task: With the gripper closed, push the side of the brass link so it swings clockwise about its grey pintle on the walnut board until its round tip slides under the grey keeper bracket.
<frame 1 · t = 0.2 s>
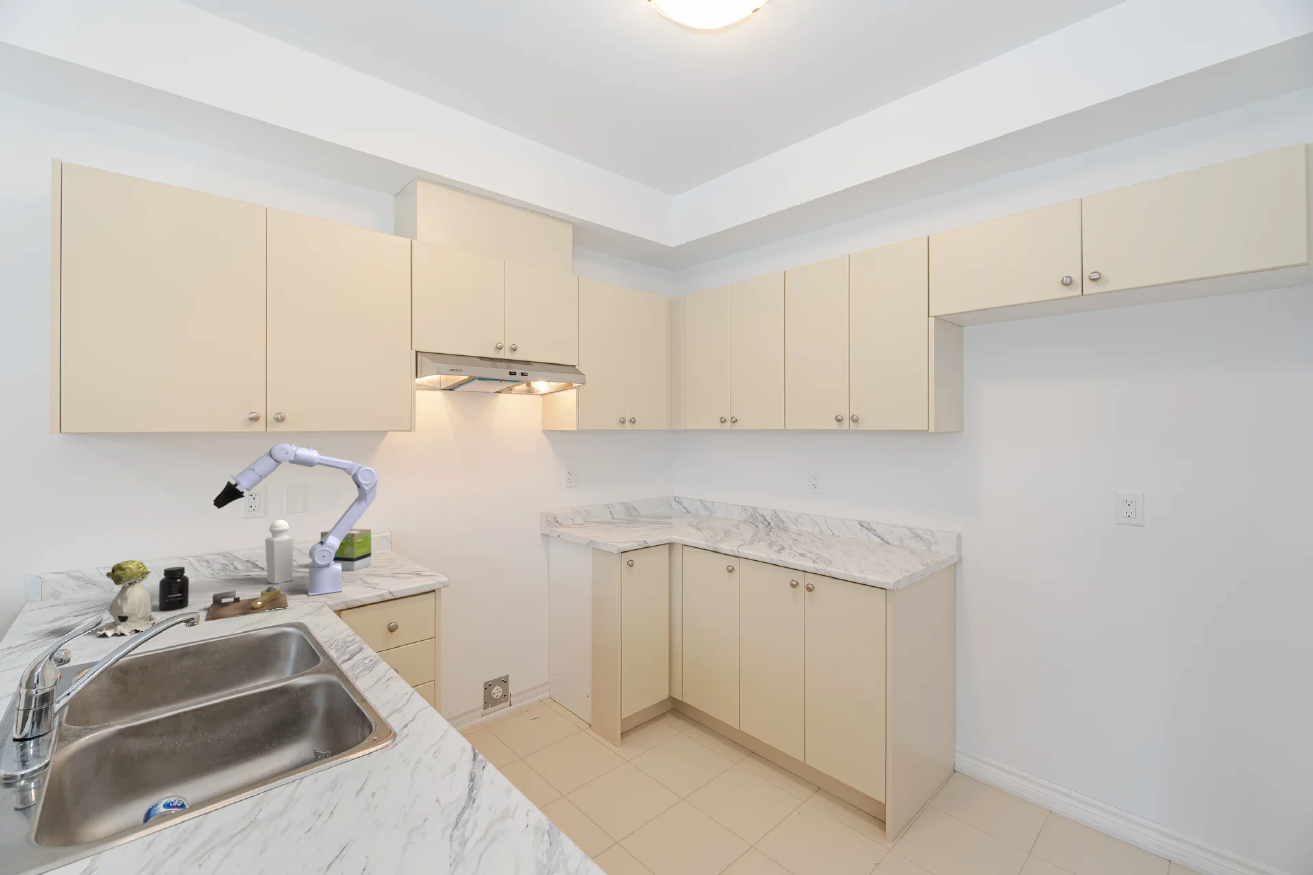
hand: (215, 505, 170), 31 cm above the counter, tool tilted 45°, fingers open, 7 cm apart
supplement bottle: (174, 608, 170), on the counter
tea box: (346, 568, 221), on the counter
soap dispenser: (279, 581, 201), on the counter
hinge board: (249, 607, 170), on the counter
link: (264, 598, 172), point 2 cm above the counter, hinge at 70.0°
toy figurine: (127, 629, 152), on the counter
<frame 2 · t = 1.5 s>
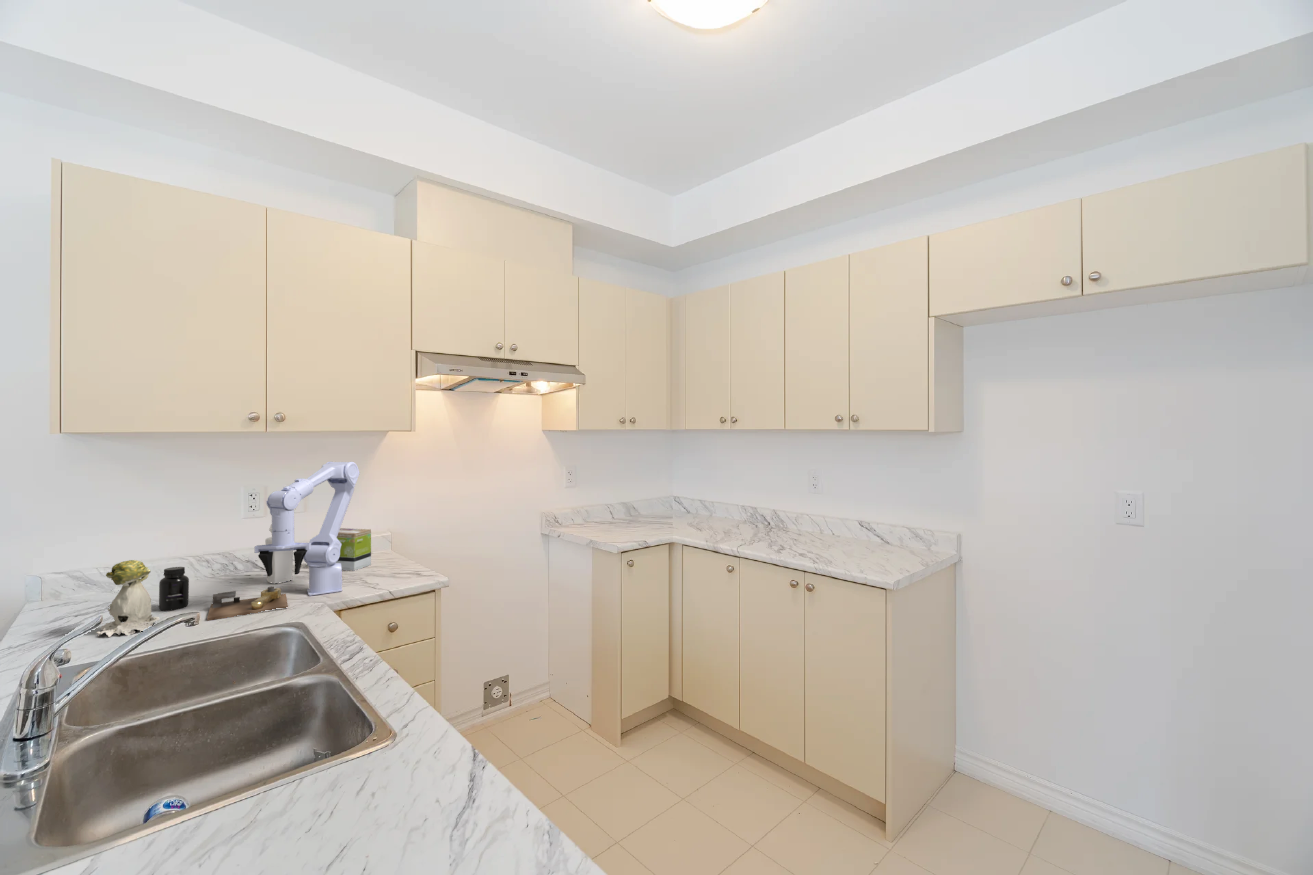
hand: (283, 574, 172), 9 cm above the counter, tool pointing down, fingers open, 7 cm apart
nothing on the counter moved.
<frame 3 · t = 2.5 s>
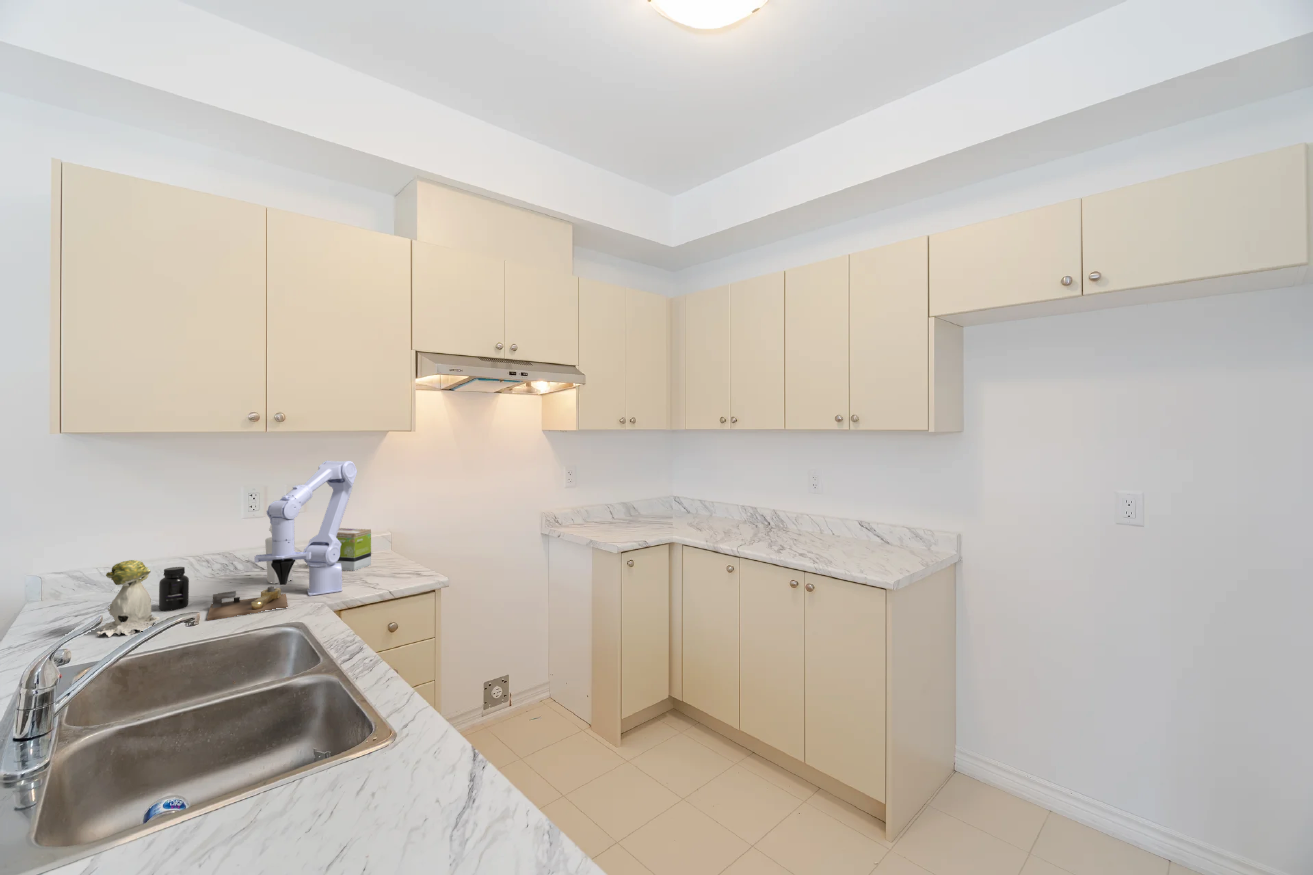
hand: (283, 584, 172), 6 cm above the counter, tool pointing down, fingers closed
nothing on the counter moved.
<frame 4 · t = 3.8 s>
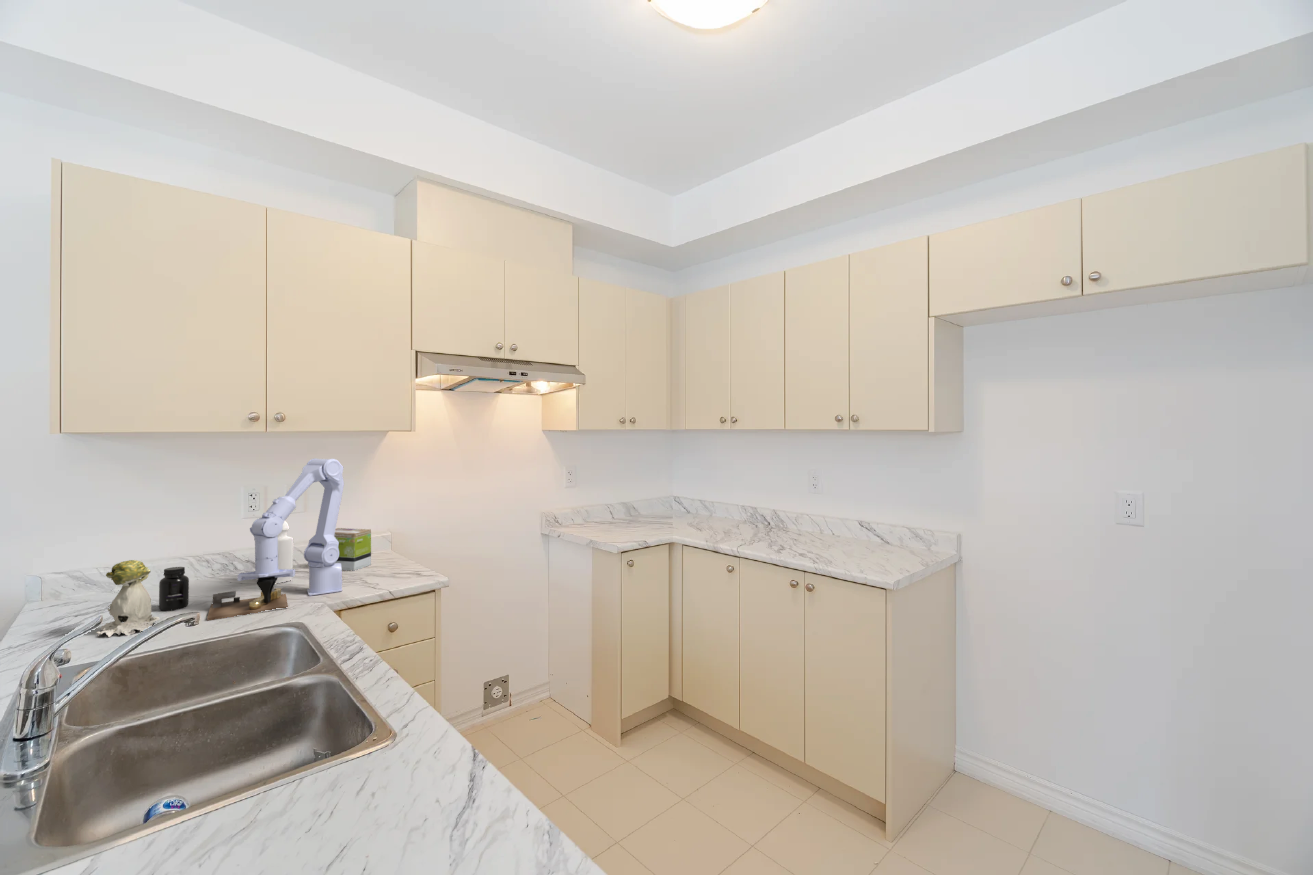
hand: (267, 602, 171), 1 cm above the counter, tool pointing down, fingers closed, pressing on link
link: (263, 598, 172), point 2 cm above the counter, hinge at 66.7°, touching gripper
everything else where it was.
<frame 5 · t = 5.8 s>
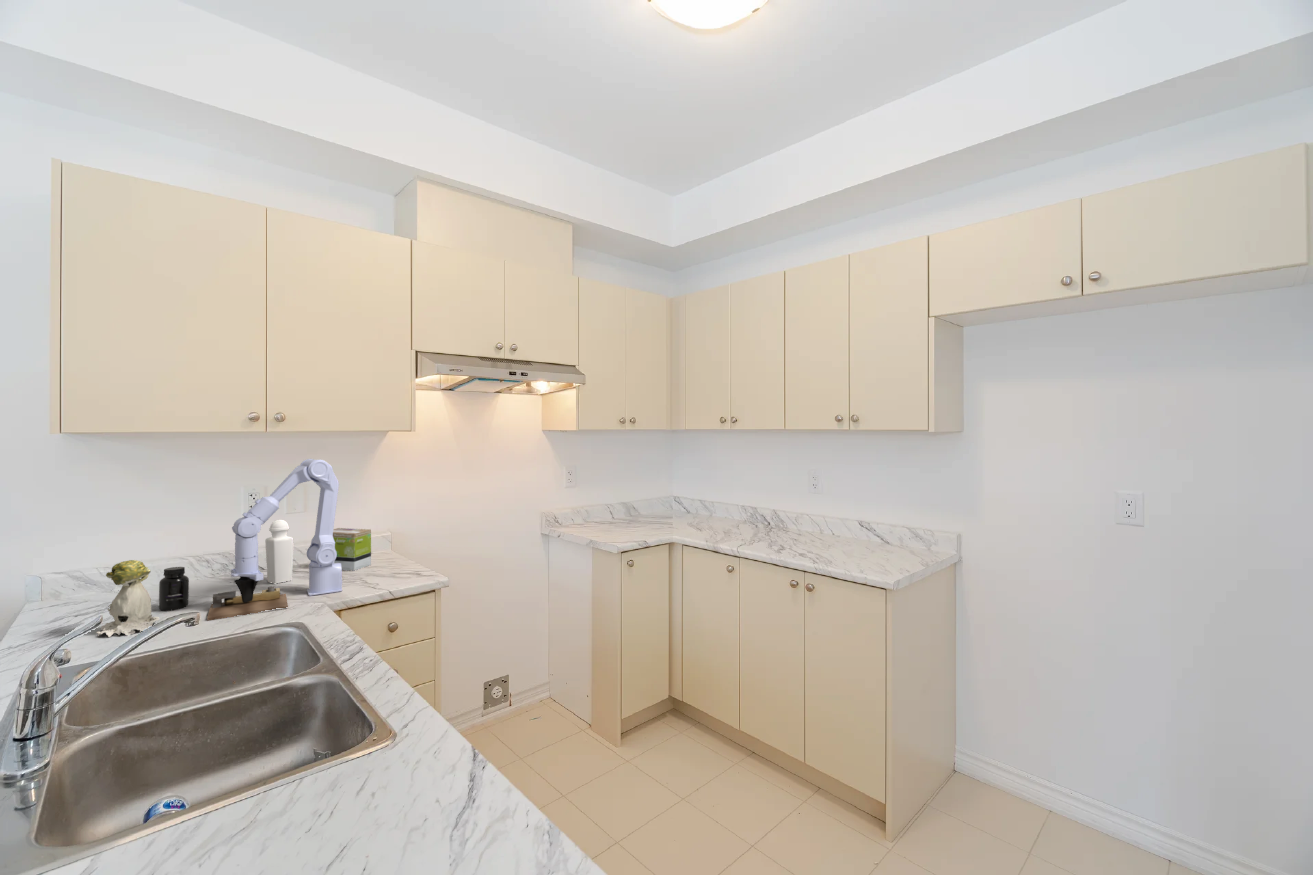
hand: (247, 601, 172), 1 cm above the counter, tool pointing down, fingers closed, pressing on link
link: (252, 596, 174), point 2 cm above the counter, hinge at -2.5°, touching gripper, hinge board
everything else where it was.
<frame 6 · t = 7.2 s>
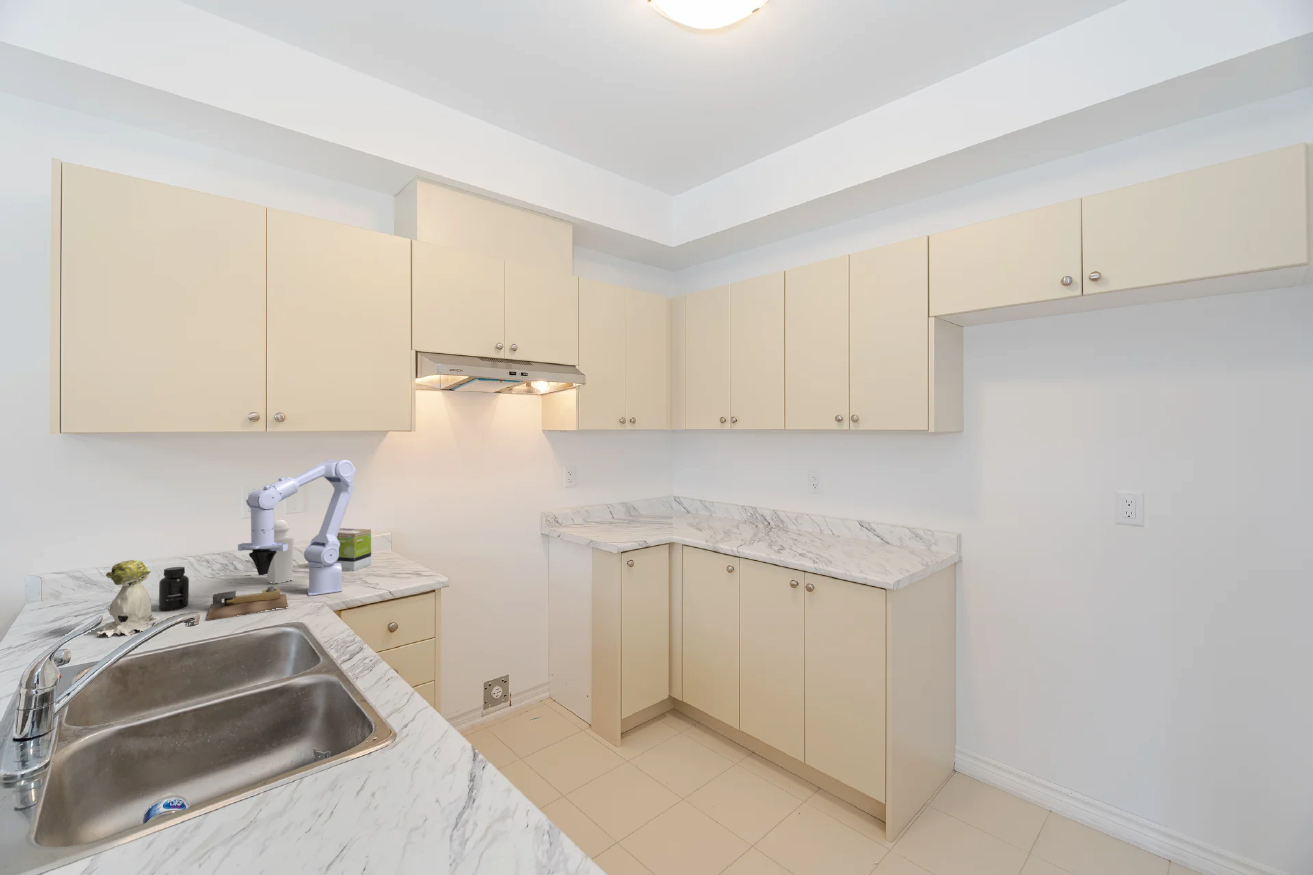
hand: (263, 574, 171), 10 cm above the counter, tool pointing down, fingers closed
link: (252, 596, 174), point 2 cm above the counter, hinge at -2.4°
everything else where it was.
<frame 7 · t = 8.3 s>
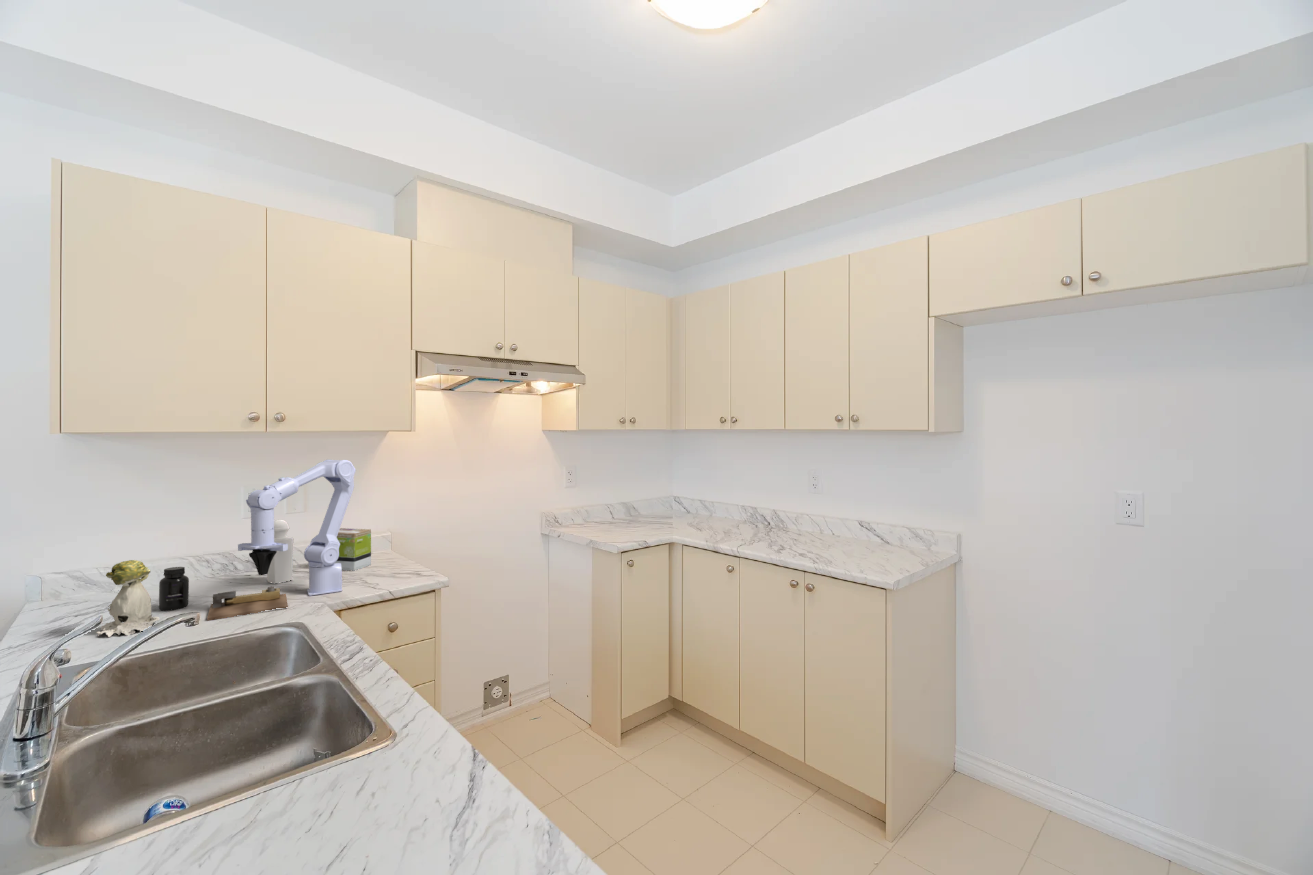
hand: (263, 574, 171), 10 cm above the counter, tool pointing down, fingers closed
nothing on the counter moved.
at the end: link at -2° (first picture: +70°); link touching nothing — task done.
